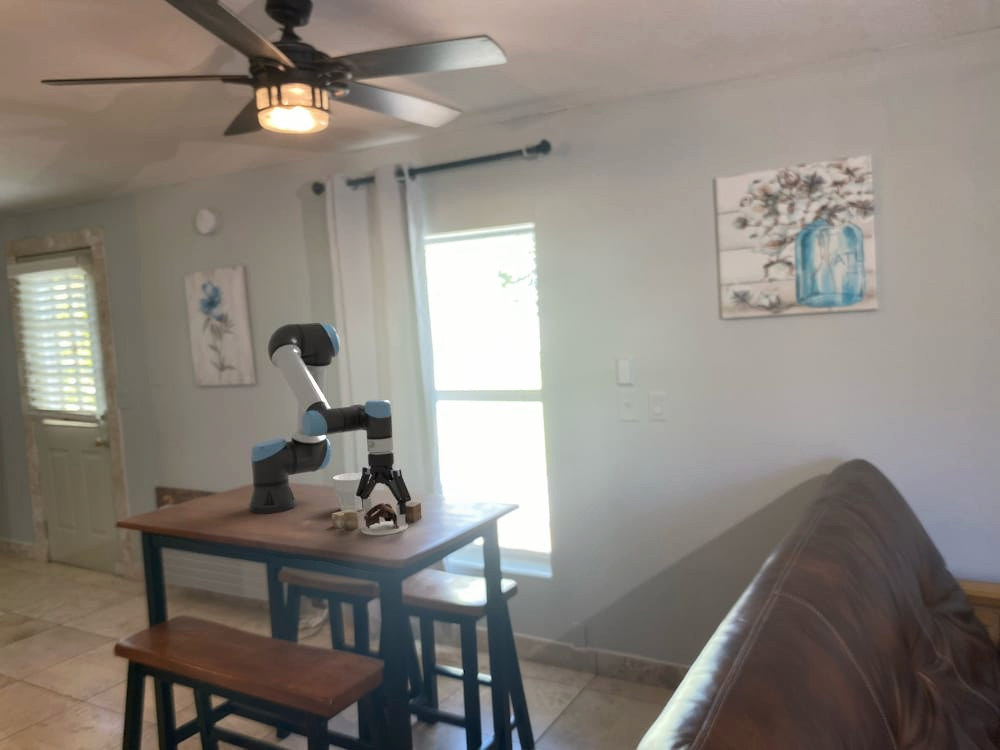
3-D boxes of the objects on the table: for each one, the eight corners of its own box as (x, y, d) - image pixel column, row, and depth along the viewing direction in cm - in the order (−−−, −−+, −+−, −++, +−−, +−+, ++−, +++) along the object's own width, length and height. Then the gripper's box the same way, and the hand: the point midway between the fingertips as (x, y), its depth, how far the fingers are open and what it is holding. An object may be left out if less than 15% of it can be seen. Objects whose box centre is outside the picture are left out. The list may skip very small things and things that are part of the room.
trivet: (351, 531, 216) (351, 530, 216) (384, 520, 228) (384, 519, 228) (385, 537, 208) (385, 536, 208) (418, 525, 220) (418, 524, 220)
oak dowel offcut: (342, 529, 220) (341, 512, 220) (351, 525, 223) (350, 509, 223) (351, 530, 218) (350, 514, 217) (361, 527, 221) (360, 511, 221)
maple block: (332, 526, 224) (332, 513, 224) (349, 522, 228) (348, 509, 228) (340, 528, 221) (339, 515, 221) (356, 524, 226) (355, 511, 225)
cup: (346, 515, 237) (344, 481, 236) (327, 509, 246) (325, 476, 245) (379, 507, 245) (377, 475, 244) (360, 502, 254) (358, 471, 253)
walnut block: (399, 521, 226) (398, 505, 225) (407, 517, 230) (406, 501, 230) (414, 522, 224) (413, 506, 224) (421, 518, 229) (420, 502, 228)
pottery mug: (399, 532, 213) (384, 511, 211) (372, 546, 215) (357, 525, 213) (406, 512, 224) (391, 491, 222) (380, 525, 226) (366, 505, 224)
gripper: (341, 451, 221) (346, 520, 222) (403, 456, 206) (407, 530, 208) (359, 447, 227) (363, 514, 228) (420, 452, 212) (424, 524, 214)
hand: (384, 522), depth 218 cm, fingers open, 13 cm apart
